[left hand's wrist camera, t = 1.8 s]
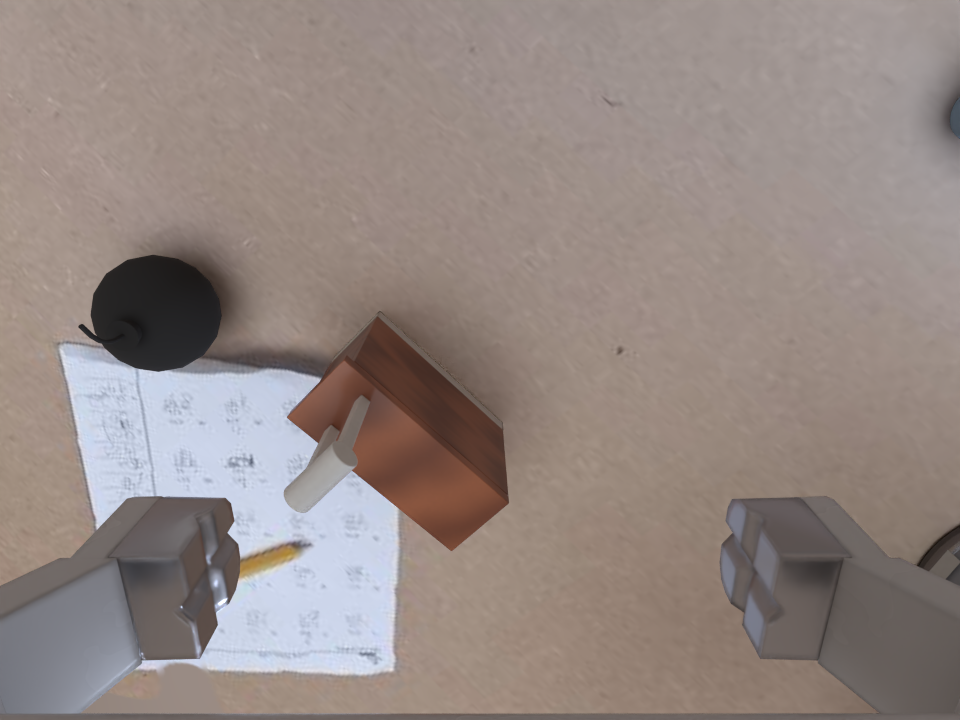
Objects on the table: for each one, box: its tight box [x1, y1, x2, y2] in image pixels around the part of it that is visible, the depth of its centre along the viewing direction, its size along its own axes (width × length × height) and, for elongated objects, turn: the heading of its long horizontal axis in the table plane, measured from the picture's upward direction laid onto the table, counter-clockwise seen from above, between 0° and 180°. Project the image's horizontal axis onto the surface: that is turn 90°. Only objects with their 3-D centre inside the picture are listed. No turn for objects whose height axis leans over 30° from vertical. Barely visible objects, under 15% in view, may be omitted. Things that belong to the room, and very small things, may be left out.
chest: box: [321, 311, 508, 495], centre depth 45 cm, size 13×5×10 cm, turn 45°
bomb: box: [78, 255, 221, 372], centre depth 41 cm, size 8×8×12 cm
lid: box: [284, 355, 509, 551], centre depth 36 cm, size 14×5×9 cm, turn 45°
